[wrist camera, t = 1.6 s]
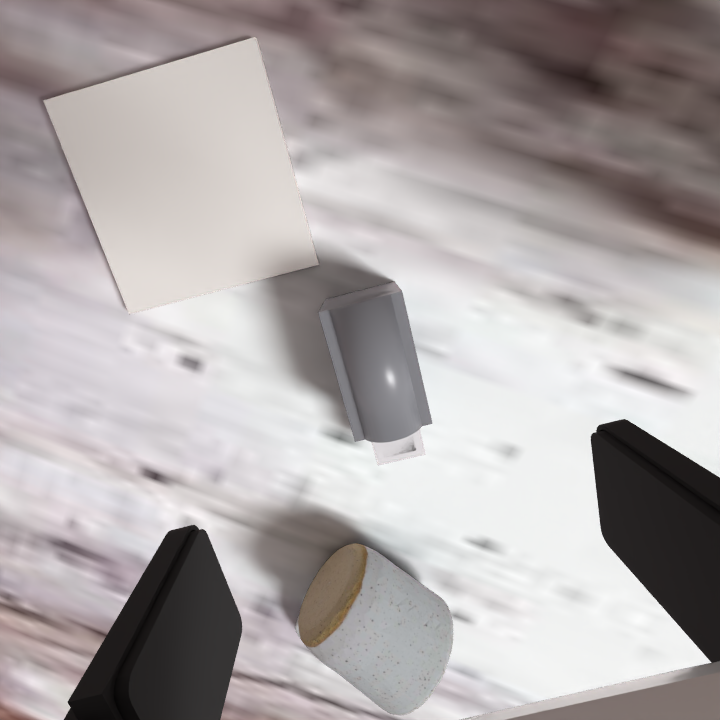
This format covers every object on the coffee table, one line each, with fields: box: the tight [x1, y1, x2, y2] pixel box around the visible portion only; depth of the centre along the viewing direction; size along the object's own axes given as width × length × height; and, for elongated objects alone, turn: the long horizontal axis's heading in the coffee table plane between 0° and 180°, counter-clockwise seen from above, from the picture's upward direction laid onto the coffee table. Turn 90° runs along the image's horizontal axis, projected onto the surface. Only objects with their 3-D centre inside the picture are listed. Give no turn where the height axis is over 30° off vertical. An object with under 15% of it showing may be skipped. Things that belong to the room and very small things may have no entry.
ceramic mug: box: [295, 543, 453, 715], centre depth 29 cm, size 11×8×8 cm
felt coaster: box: [43, 37, 319, 314], centre depth 25 cm, size 12×12×1 cm
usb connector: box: [318, 282, 432, 465], centre depth 25 cm, size 4×10×6 cm, turn 14°
